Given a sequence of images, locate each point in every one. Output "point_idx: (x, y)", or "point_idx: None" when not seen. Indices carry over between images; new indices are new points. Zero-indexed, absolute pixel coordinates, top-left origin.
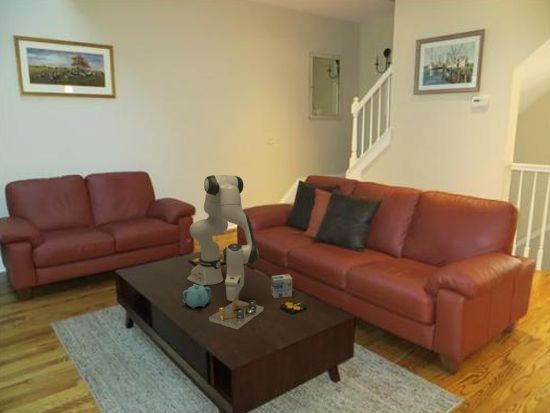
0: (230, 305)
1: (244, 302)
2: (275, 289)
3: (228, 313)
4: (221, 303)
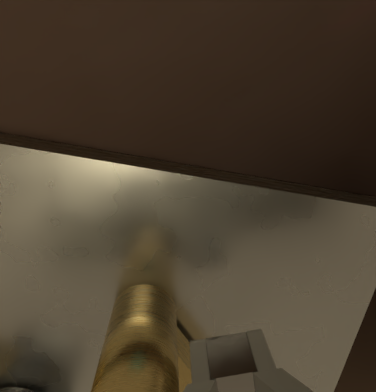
0: (225, 213)
1: (348, 324)
2: None
3: (13, 288)
4: (338, 6)
